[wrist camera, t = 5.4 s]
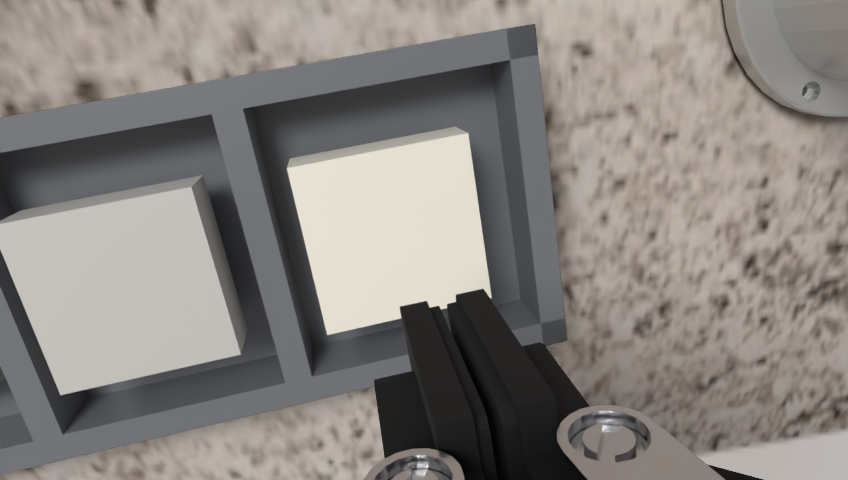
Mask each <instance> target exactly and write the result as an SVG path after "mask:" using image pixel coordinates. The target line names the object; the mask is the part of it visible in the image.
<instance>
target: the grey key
mask: <svg viewBox="0 0 848 480" xmlns="http://www.w3.org/2000/svg"><path fill="white" fill-rule="evenodd" d="M0 250H1V253H2V255H3V257H4V260H5V262H6V265H7V267H8V269H9V272H10V274H11V277H12V279H13V282H14V284H15V286H16V289H17V291H18V294H19V296H20V299H21V301H22V303H23V306H24V308H25V311H26V313H27V315H28V318H29V320H30V323H31V325H32V328H33V330H34V332H35V335H36V337H37V340H38V342H39V345H40V347H41V349H42V352H43V354H44V357H45V359H46V361H47V364H48V366H49V369H50V371H51V374H52V376H53V378H54V381H55V383H56V386H57V388H58V390H59V393H60V395H64V394H68V393H73V392H77V391H82V390H86V389H91V388H95V387H100V386H104V385H108V384H113V383H117V382H122V381H126V380H131V379H135V378H139V377H144V376H148V375H153V374H157V373H162V372H166V371H170V370H175V369H179V368H184V367H188V366H193V365H197V364H201V363H206V362H210V361H215V360H219V359H224V358H228V357H233V356H237V355H241V353H242V349H243V345H244V341H245V338H246V334H247V330H248V329H247V326H246V322H245V319H244V316H243V312H242V309H241V305H240V302H239V298H238V295H237V291H236V288H235V284H234V281H233V277H232V274H231V270H230V267H229V263H228V260H227V257H226V253H225V250H224V246H223V243H222V239H221V236H220V232H219V229H218V225H217V222H216V218H215V215H214V211H213V208H212V204H211V201H210V198H209V194H208V191H207V187H206V184H205V180H204V177H203V175H201V176H196V177H191V178H186V179H181V180H175V181H170V182H165V183H160V184H155V185H149V186H144V187H139V188H134V189H129V190H124V191H118V192H113V193H108V194H103V195H98V196H92V197H87V198H82V199H77V200H72V201H66V202H61V203H56V204H51V205H46V206H40V207H35V208H30V209H25V210H21V211H19V212H17V213H15V214H13V215H11V216H9V217H7V218H5V219H3V220H1V221H0Z"/></svg>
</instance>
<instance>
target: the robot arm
mask: <svg viewBox="0 0 848 480" xmlns="http://www.w3.org/2000/svg"><path fill="white" fill-rule="evenodd" d="M723 7H724V14H725V22H726V28H727V31H728V34H729V37H730V40H731V43H732V46H733V49H734V52H735V54H736V56H737V58H738V59H739V61H740V63H741V65H742V66H743V68H744V70H745V72H746V73H747V75H748V76H749V77H750V78H751V79H752V80H753V82H754V83H755V84H756V85H757V86H758V87H759V88H760V89H761V90H762V91H763V93H765V94H766V95H768V96H769V97H771V98H772V99H774V100H775V101H777V102H778V103H780V104H781V105H783V106H785V107H788V108H791V109H793V110H796V111H799V112H801V113H806V114H813V115H820V116H827V117H848V0H723ZM447 311H448V317H449V323H450V329H451V331H450V329H449V327H448V325H447V322H446V320H445V318H444V316H443V313H442V311H441V309H440V307H439V306H435V307H429V305H428V302H427V301H424V302H419V303H414V304H410V305H405V306H400V313H401V318H402V323H403V329H404V334H405V339H406V344H407V349H408V354H409V360H410V365H411V370H412V371H410V372H405V373H401V374H396V375H392V376H387V377H383V378H379V379H374V385H375V392H376V399H377V406H378V413H379V420H380V427H381V435H382V442H383V449H384V456H385V459H383V460H382V461H380V462H379V463H378V464H377V465H375V466H374V467H373V468H372V469H371V470H370V471H369V473H368V474H367V475H366V477H365V478H364V480H762V479H759V478H755V477H752V476H748V475H744V474H740V473H737V472H733V471H729V470H726V469H722V468H718V467H714V466H711V465H707V464H706V463H704V462H703V461H702V460H701V459H700V458H698V457H697V456H696V455H695V454H694V453H692V452H691V451H690V450H689V449H688V448H686V447H685V446H684V445H683V444H682V443H680V442H679V441H678V440H677V439H675V438H674V437H673V436H672V435H671V434H669V433H668V432H667V431H666V430H665V429H663V428H662V427H661V426H660V425H659V424H657V423H656V422H655V421H654V420H653V419H651V418H649V417H648V416H646V415H645V414H643V413H641V412H639V411H636V410H634V409H631V408H628V407H623V406H616V405H595V406H589V405H588V404H587V402H586V401H585V399H584V398H583V397H582V395H581V394H580V393H579V391H578V390H577V389H576V387H575V386H574V385H573V383H572V382H571V381H570V379H569V378H568V377H567V375H566V374H565V373H564V371H563V370H562V369H561V367H560V366H559V365H558V363H557V362H556V361H555V359H554V358H553V356H552V355H551V354H550V352H549V351H548V350H547V348H546V347H545V346H544V345H543V344H542V343H541V342H538V343H534V344H529V345H525V346H521V344H520V343H519V341H518V340H517V338H516V337H515V335H514V334H513V332H512V331H511V329H510V328H509V326H508V325H507V323H506V322H505V320H504V319H503V317H502V316H501V314H500V313H499V311H498V310H497V308H496V307H495V305H494V304H493V302H492V301H491V299H490V298H489V296H488V295H487V293H486V292H485V290H484V289H479V290H475V291H470V292H465V293H461V294H457V295H456V302H454V303H449V304H447Z"/></svg>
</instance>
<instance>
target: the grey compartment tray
mask: <svg viewBox="0 0 848 480" xmlns="http://www.w3.org/2000/svg"><path fill="white" fill-rule="evenodd" d="M451 127H457V128H459V129H461V130H463V131H465V132H467V133H468V135H469V142H470V149H471V156H472V163H473V170H474V177H475V184H476V191H477V198H478V205H479V212H480V219H481V226H482V233H483V240H484V247H485V254H486V261H487V268H488V275H489V282H490V289H491V296H492V298H490V299H491V301H492V302H493V304H494V305H495V307H496V308H497V310H498V311H499V313H500V314H501V316H502V317H503V319H504V320H505V322H506V323H507V325H508V326H509V328H510V329H511V331H512V332H513V334H514V335H515V337H516V338H517V340H518V341H519V343H520V344H521V346H525V345H529V344H534V343H538V342H541V343H542V344H543V345H544V346H546V345H551V344H555V343H559V342H563V341H567V332H566V323H565V313H564V303H563V293H562V283H561V274H560V264H559V254H558V244H557V234H556V225H555V215H554V205H553V195H552V185H551V176H550V166H549V156H548V146H547V136H546V127H545V117H544V107H543V97H542V87H541V78H540V68H539V58H538V48H537V38H536V29H535V24H532V25H526V26H519V27H513V28H507V29H501V30H495V31H489V32H484V33H478V34H472V35H467V36H461V37H455V38H450V39H444V40H438V41H432V42H427V43H421V44H415V45H410V46H404V47H398V48H393V49H387V50H381V51H376V52H370V53H364V54H359V55H353V56H347V57H342V58H336V59H330V60H325V61H319V62H313V63H308V64H302V65H296V66H291V67H285V68H279V69H274V70H268V71H262V72H257V73H251V74H245V75H240V76H234V77H228V78H223V79H217V80H211V81H206V82H200V83H194V84H189V85H183V86H177V87H172V88H166V89H160V90H155V91H149V92H143V93H138V94H132V95H126V96H121V97H115V98H109V99H104V100H98V101H92V102H87V103H81V104H75V105H70V106H64V107H58V108H53V109H47V110H41V111H36V112H30V113H24V114H19V115H13V116H7V117H1V118H0V221H1V220H3V219H5V218H7V217H9V216H11V215H13V214H15V213H17V212H19V211H21V210H25V209H30V208H35V207H40V206H46V205H51V204H56V203H61V202H66V201H72V200H77V199H82V198H87V197H92V196H98V195H103V194H108V193H113V192H118V191H124V190H129V189H134V188H139V187H144V186H149V185H155V184H160V183H165V182H170V181H175V180H181V179H186V178H191V177H196V176H201V175H203V177H204V180H205V184H206V187H207V191H208V194H209V198H210V201H211V204H212V208H213V211H214V215H215V218H216V222H217V225H218V229H219V232H220V236H221V239H222V243H223V246H224V250H225V253H226V257H227V260H228V263H229V267H230V270H231V274H232V277H233V281H234V284H235V288H236V291H237V295H238V298H239V302H240V305H241V309H242V312H243V316H244V319H245V322H246V326H247V329H248V330H247V334H246V338H245V341H244V345H243V349H242V353H241V355H237V356H233V357H228V358H224V359H219V360H215V361H210V362H206V363H201V364H197V365H193V366H188V367H184V368H179V369H175V370H170V371H166V372H162V373H157V374H153V375H148V376H144V377H139V378H135V379H131V380H126V381H122V382H117V383H113V384H108V385H104V386H100V387H95V388H91V389H86V390H82V391H77V392H73V393H68V394H64V395H60V393H59V390H58V388H57V386H56V383H55V381H54V378H53V376H52V374H51V371H50V369H49V366H48V364H47V361H46V359H45V357H44V354H43V352H42V349H41V347H40V345H39V342H38V340H37V337H36V335H35V332H34V330H33V328H32V325H31V323H30V320H29V318H28V315H27V313H26V311H25V308H24V306H23V303H22V301H21V299H20V296H19V294H18V291H17V289H16V286H15V284H14V282H13V279H12V277H11V274H10V272H9V269H8V267H7V265H6V262H5V260H4V257H3V255H2V253H1V250H0V367H1V369H2V371H3V373H4V376H5V378H4V379H3V380H2V381H1V382H0V475H1V474H6V473H10V472H14V471H18V470H23V469H27V468H31V467H35V466H39V465H44V464H48V463H52V462H56V461H61V460H65V459H69V458H73V457H77V456H82V455H86V454H90V453H94V452H99V451H103V450H107V449H111V448H116V447H120V446H124V445H128V444H132V443H137V442H141V441H145V440H149V439H154V438H158V437H162V436H166V435H170V434H175V433H179V432H183V431H187V430H192V429H196V428H200V427H204V426H208V425H213V424H217V423H221V422H225V421H230V420H234V419H238V418H242V417H246V416H251V415H255V414H259V413H263V412H268V411H272V410H276V409H280V408H284V407H289V406H293V405H297V404H301V403H306V402H310V401H314V400H318V399H323V398H327V397H331V396H335V395H339V394H344V393H348V392H352V391H356V390H361V389H365V388H369V387H373V386H375V385H374V379H379V378H383V377H387V376H392V375H396V374H401V373H405V372H410V371H412V370H411V365H410V360H409V354H408V349H407V344H406V339H405V334H404V329H403V323H402V318H401V319H397V320H392V321H388V322H383V323H379V324H374V325H370V326H366V327H361V328H357V329H352V330H348V331H343V332H339V333H334V334H330V335H327V332H326V328H325V324H324V320H323V316H322V312H321V308H320V304H319V299H318V295H317V291H316V287H315V283H314V279H313V275H312V271H311V266H310V262H309V258H308V254H307V250H306V246H305V242H304V238H303V233H302V229H301V225H300V221H299V217H298V213H297V209H296V205H295V200H294V196H293V192H292V188H291V184H290V180H289V176H288V172H287V166H288V162H289V159H290V158H295V157H300V156H305V155H310V154H316V153H321V152H326V151H331V150H336V149H342V148H347V147H352V146H357V145H362V144H367V143H373V142H378V141H383V140H388V139H393V138H399V137H404V136H409V135H414V134H419V133H425V132H430V131H435V130H440V129H445V128H451ZM441 311H442V313H443V316H444V318H445V320H446V322H447V325H448V327H449V329H450V323H449V317H448V311H447V308H445V309H441ZM450 331H451V329H450Z"/></svg>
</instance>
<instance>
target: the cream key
mask: <svg viewBox="0 0 848 480" xmlns="http://www.w3.org/2000/svg"><path fill="white" fill-rule="evenodd" d="M287 172H288V176H289V180H290V184H291V188H292V192H293V196H294V200H295V205H296V209H297V213H298V217H299V221H300V225H301V229H302V233H303V238H304V242H305V246H306V250H307V254H308V258H309V262H310V266H311V271H312V275H313V279H314V283H315V287H316V291H317V295H318V299H319V304H320V308H321V312H322V316H323V320H324V324H325V328H326V332H327V335H330V334H334V333H339V332H343V331H348V330H352V329H357V328H361V327H366V326H370V325H374V324H379V323H383V322H388V321H392V320H397V319H401V313H400V306H405V305H410V304H414V303H419V302H424V301H427V302H428V305H429V307H435V306H439V307H440V309H445V308H447V304H449V303H454V302H456V295H457V294H461V293H465V292H470V291H475V290H479V289H484V290H485V292H486V293H487V295H488V296H489V298H492V296H491V289H490V282H489V275H488V268H487V261H486V254H485V247H484V240H483V233H482V226H481V219H480V212H479V205H478V198H477V191H476V184H475V177H474V170H473V163H472V156H471V149H470V142H469V135H468V133H467V132H465V131H463V130H461V129H459V128H457V127H451V128H445V129H440V130H435V131H430V132H425V133H419V134H414V135H409V136H404V137H399V138H393V139H388V140H383V141H378V142H373V143H367V144H362V145H357V146H352V147H347V148H342V149H336V150H331V151H326V152H321V153H316V154H310V155H305V156H300V157H295V158H290V159H289V162H288V166H287Z"/></svg>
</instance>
